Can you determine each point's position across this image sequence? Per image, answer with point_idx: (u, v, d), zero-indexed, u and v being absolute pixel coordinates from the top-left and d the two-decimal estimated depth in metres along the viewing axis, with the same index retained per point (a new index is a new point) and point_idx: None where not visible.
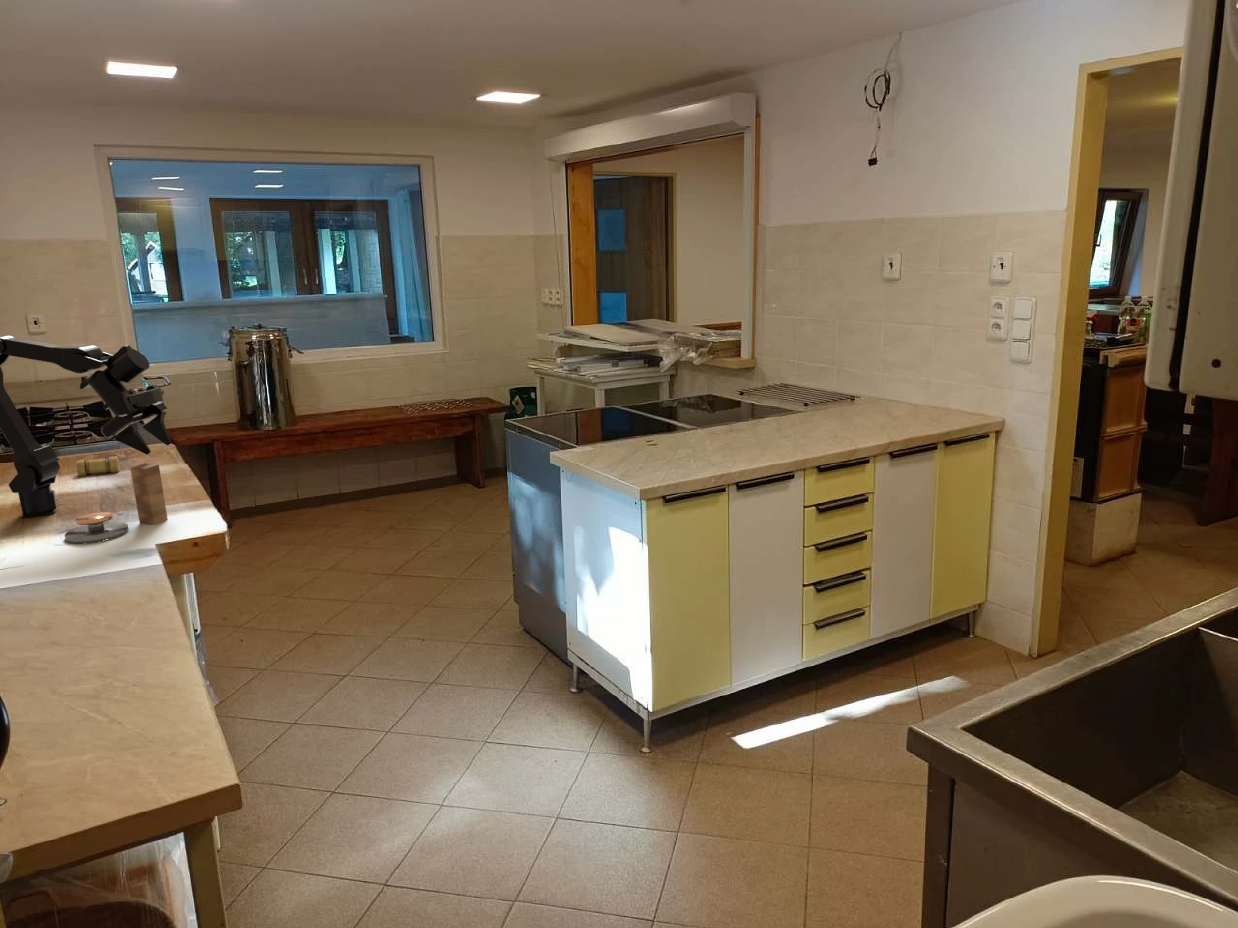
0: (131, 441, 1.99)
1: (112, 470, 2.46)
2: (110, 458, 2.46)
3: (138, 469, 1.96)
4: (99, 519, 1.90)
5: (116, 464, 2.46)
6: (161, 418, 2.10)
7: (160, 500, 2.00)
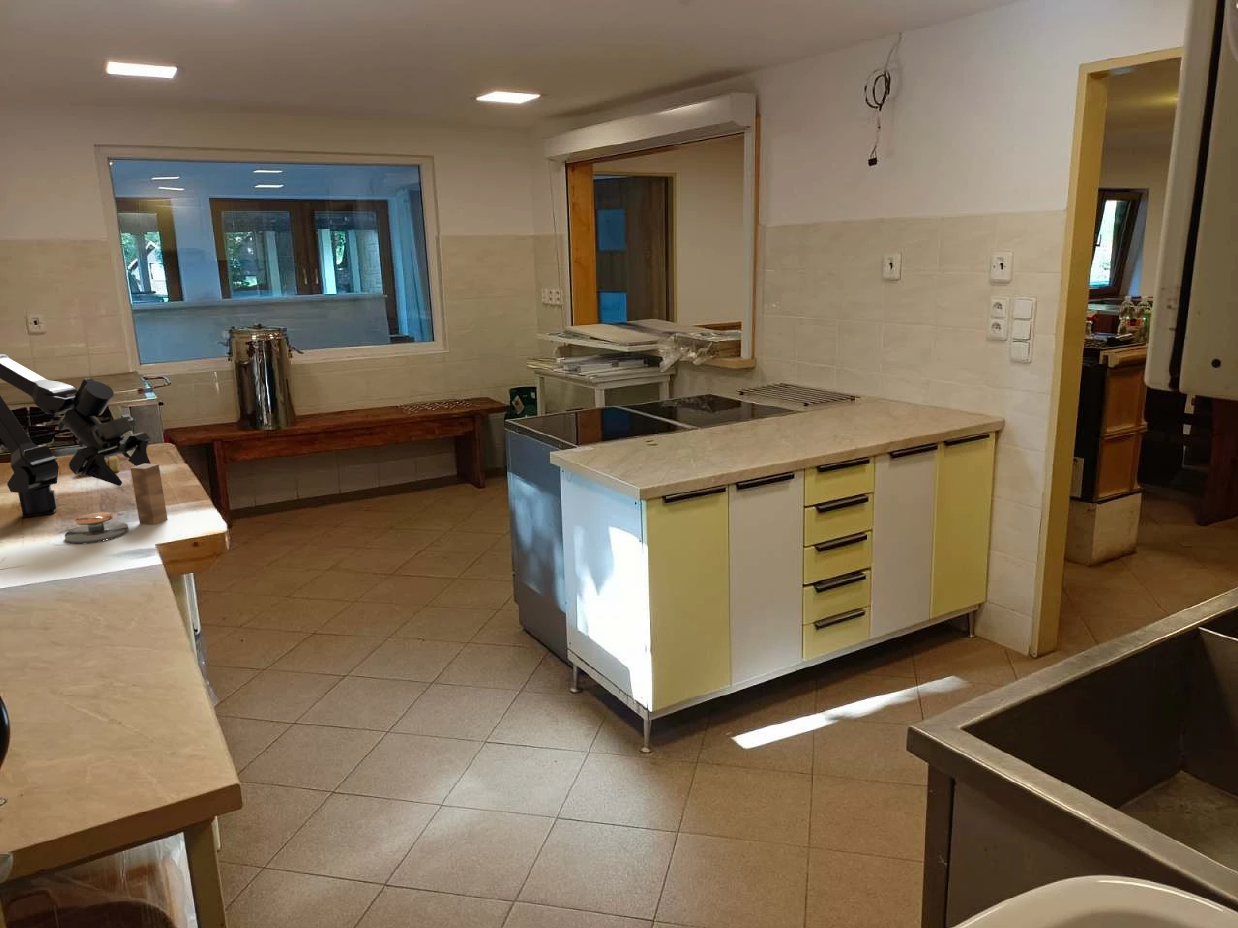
0: (101, 474, 1.94)
1: (112, 470, 2.47)
2: (110, 458, 2.47)
3: (138, 469, 1.96)
4: (99, 519, 1.90)
5: (116, 464, 2.46)
6: (142, 448, 2.04)
7: (160, 500, 2.00)
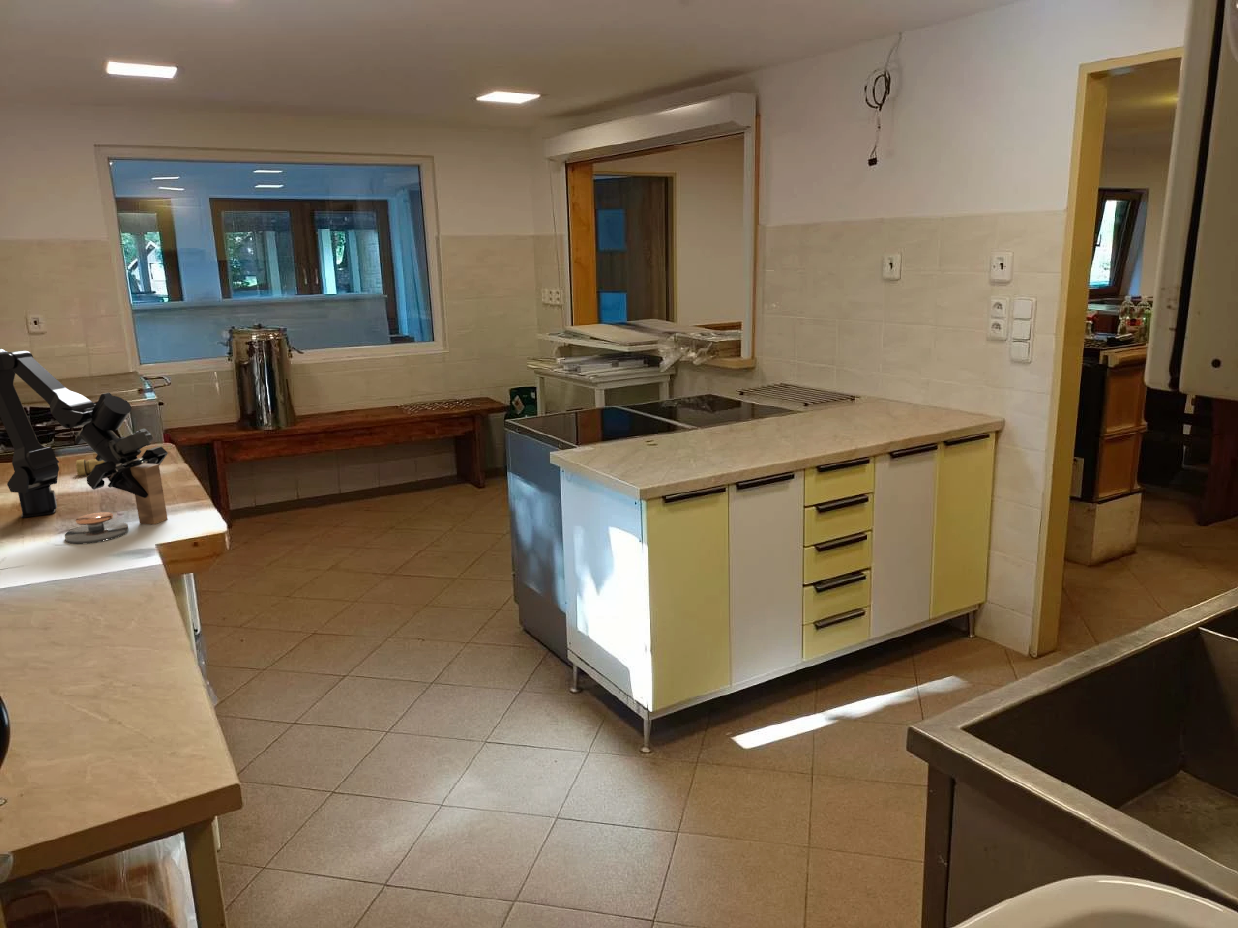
0: (127, 486, 1.96)
1: None
2: None
3: (138, 469, 1.96)
4: (99, 519, 1.90)
5: None
6: None
7: (160, 500, 2.00)
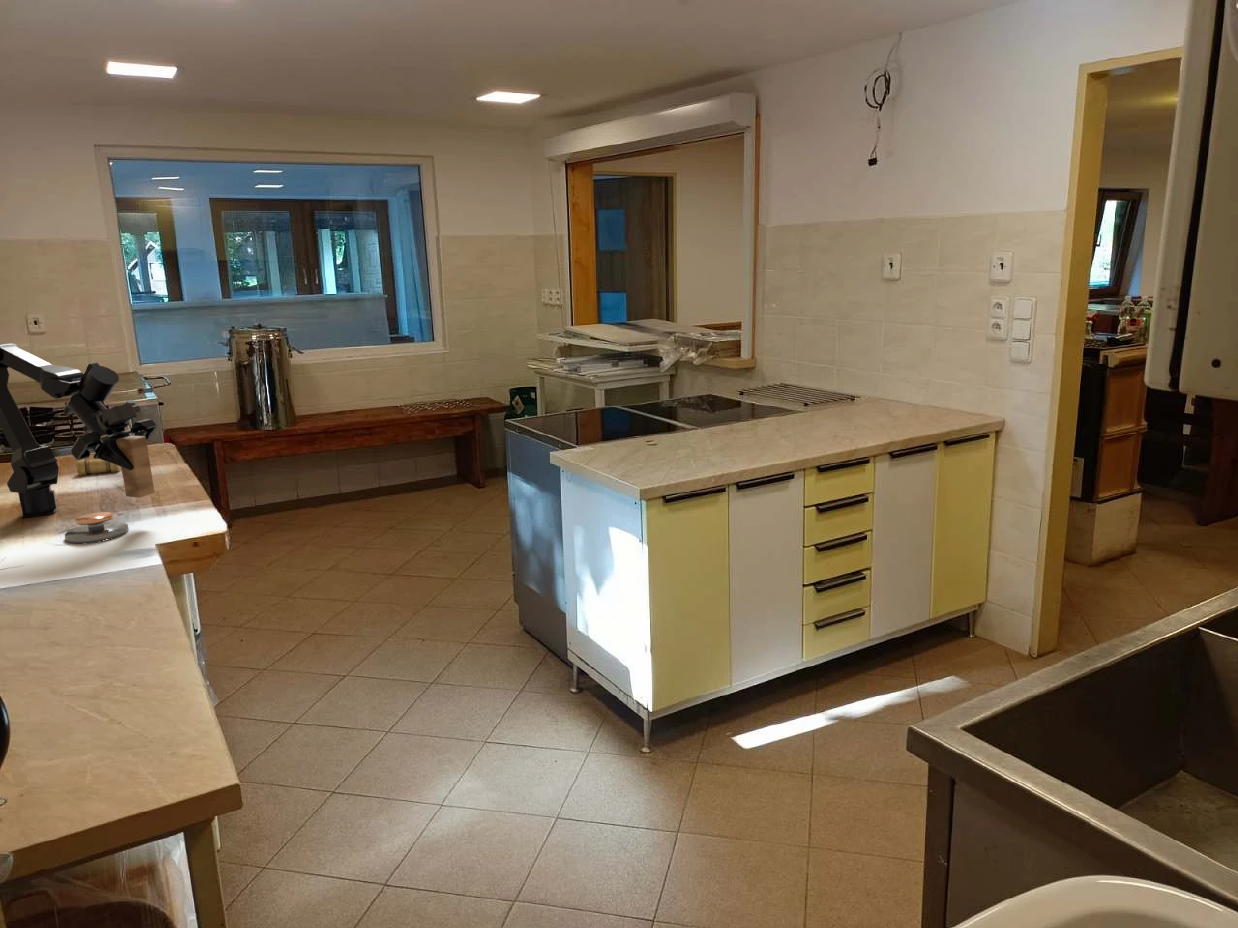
0: (113, 458, 1.93)
1: (112, 470, 2.47)
2: None
3: (124, 441, 1.93)
4: (99, 519, 1.90)
5: None
6: None
7: (147, 473, 1.97)
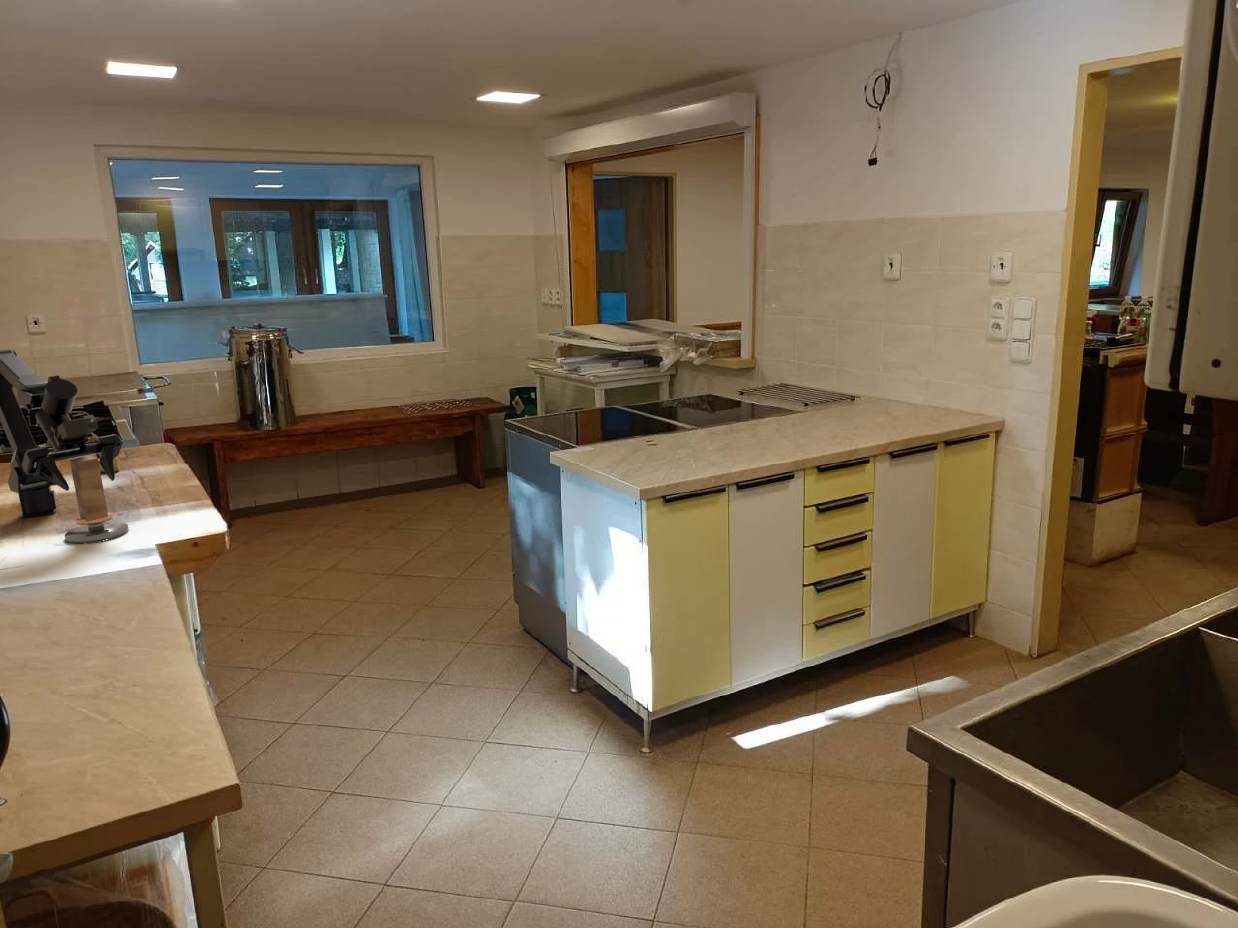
0: (52, 477, 1.86)
1: None
2: None
3: (74, 462, 1.87)
4: (99, 519, 1.90)
5: (116, 463, 2.47)
6: (107, 451, 1.94)
7: (98, 496, 1.90)
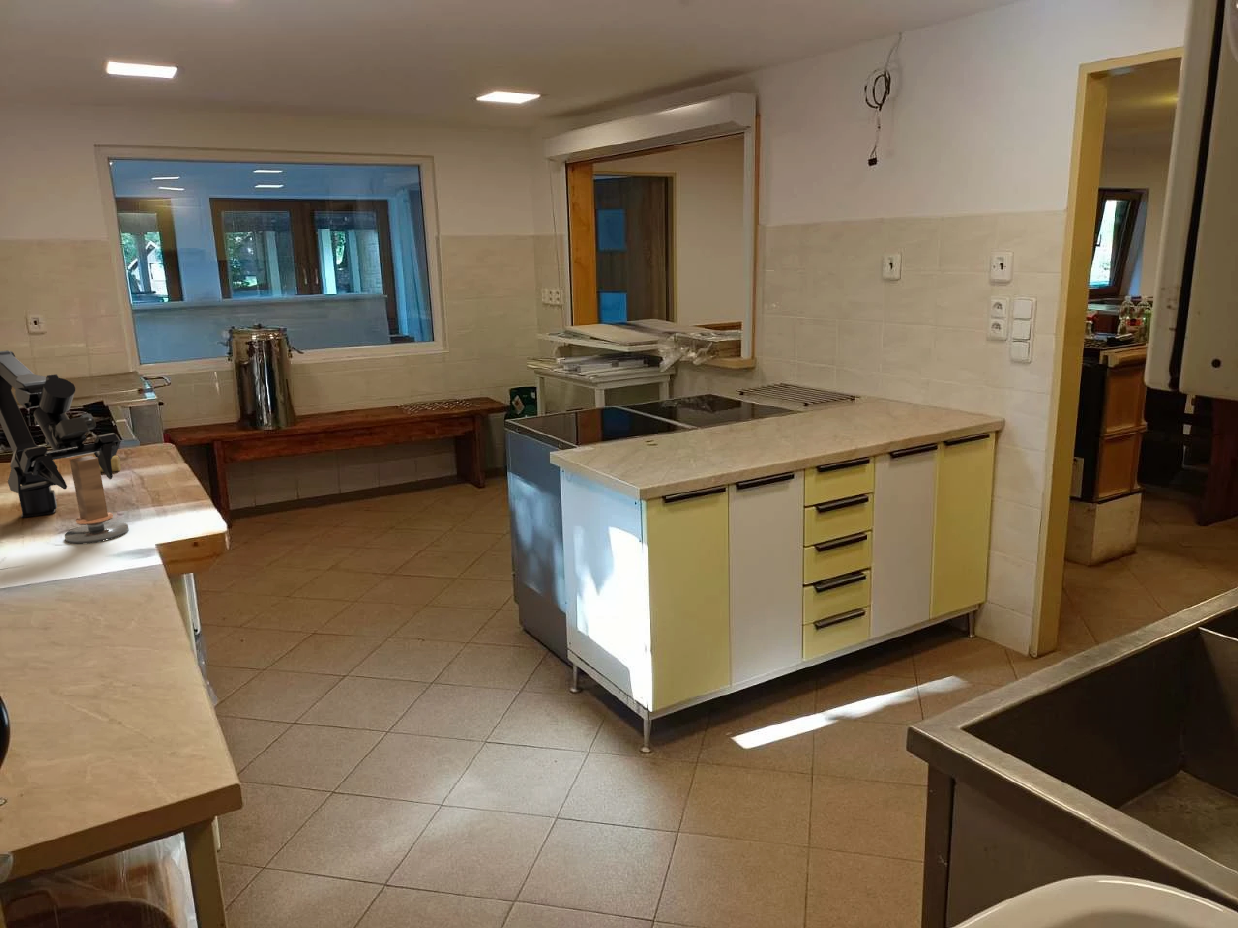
0: (50, 475, 1.86)
1: (113, 469, 2.47)
2: None
3: (74, 462, 1.87)
4: (99, 519, 1.90)
5: (116, 463, 2.47)
6: (105, 450, 1.94)
7: (98, 496, 1.90)
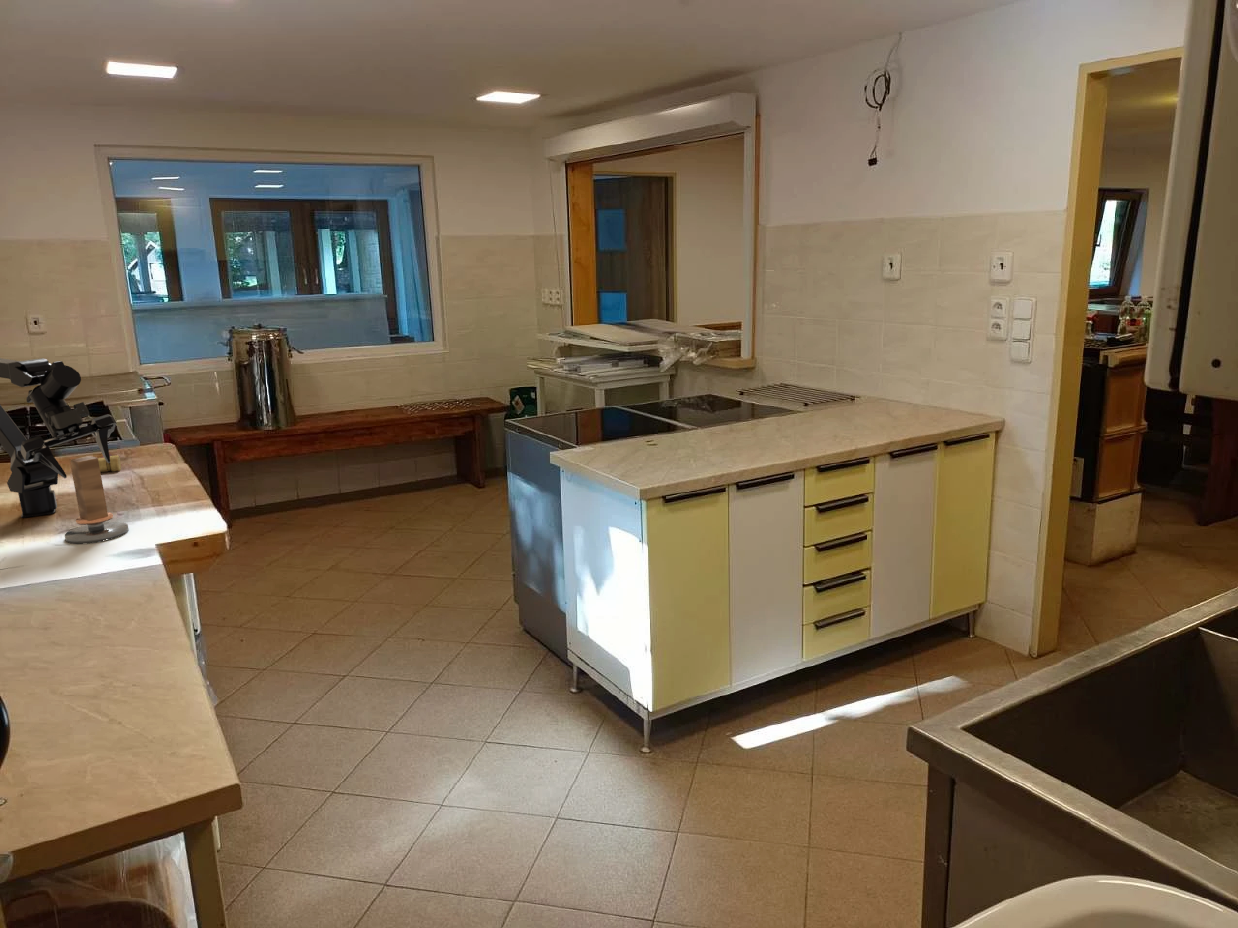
0: (50, 464, 1.94)
1: (113, 469, 2.47)
2: (111, 457, 2.47)
3: (74, 462, 1.87)
4: (99, 519, 1.90)
5: (117, 463, 2.47)
6: (101, 434, 2.00)
7: (98, 496, 1.90)
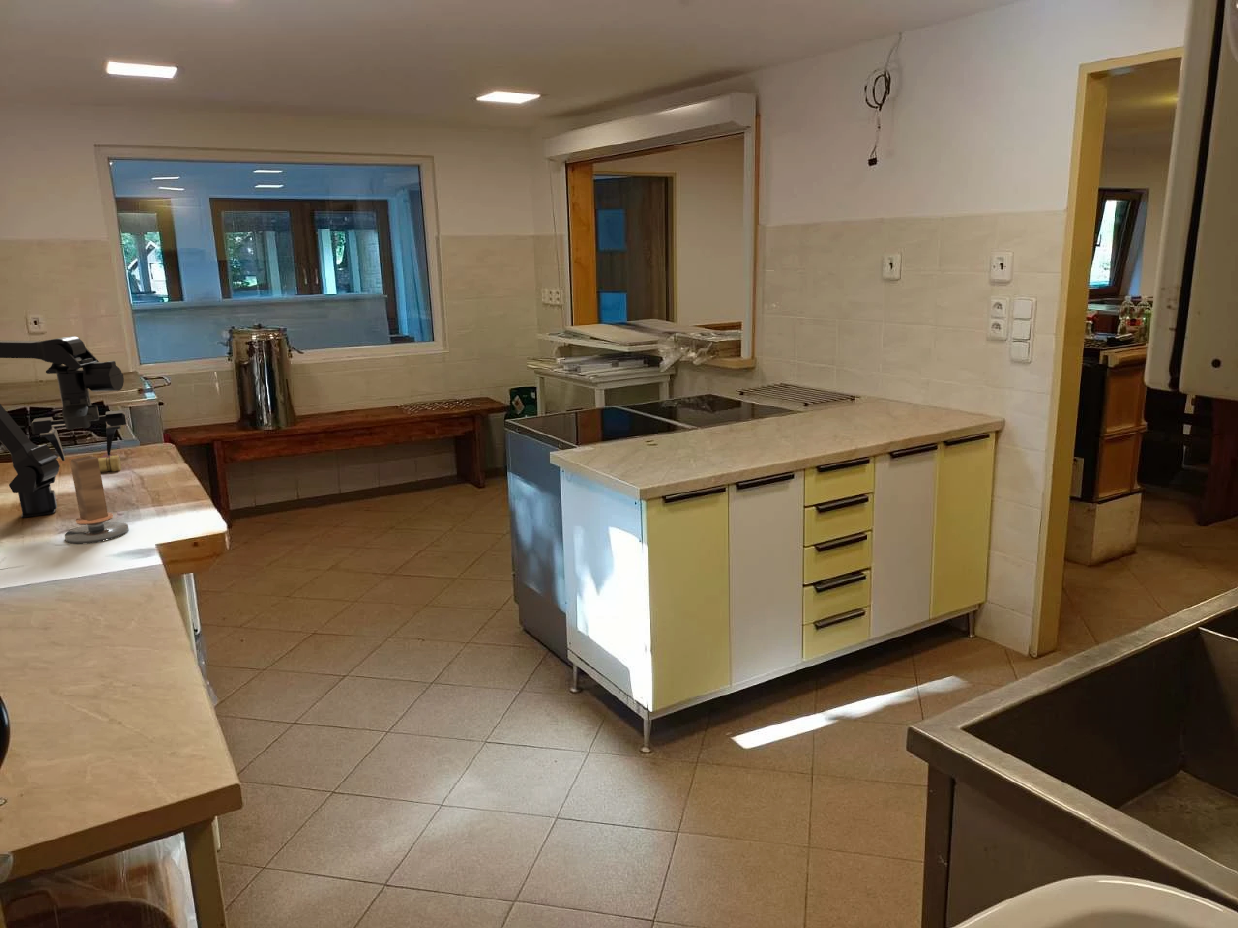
0: None
1: (113, 469, 2.48)
2: (111, 457, 2.48)
3: (74, 462, 1.87)
4: (99, 519, 1.90)
5: (117, 463, 2.48)
6: (109, 432, 2.06)
7: (98, 496, 1.90)
